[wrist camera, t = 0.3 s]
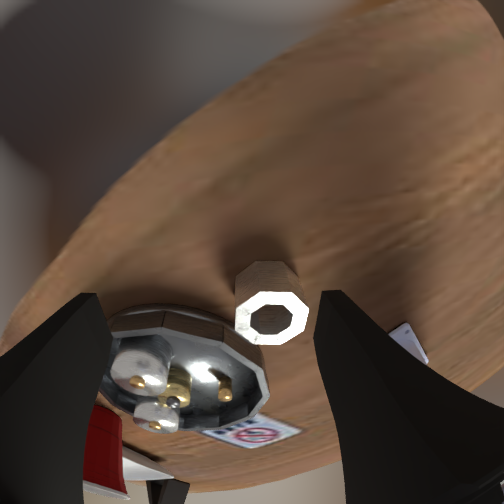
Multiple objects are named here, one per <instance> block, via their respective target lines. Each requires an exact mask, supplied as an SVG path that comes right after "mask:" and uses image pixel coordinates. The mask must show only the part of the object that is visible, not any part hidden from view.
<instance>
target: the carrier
mask: <svg viewBox="0 0 504 504" xmlns="http://www.w3.org/2000/svg"><path fill="white" fill-rule="evenodd" d="M107 324H108V326H109V329H110V331H111V334H112V336H113V341H112V346H111V351H110V356H109V360H108V364H107V367H106V370H105V373H104V376H103V379H102V382H101V385H100V388H99V392H100V393H101V394H102V395H103V396H104V397H105V398H106V399H107V400H108V401H109V402H110V403H111V404H112V405H113V406H115V407H116V408H118V409H120V410H122V411H124V412H126V413H128V414H129V415H131V416H133V421H134V422H135V423H136V424H137V425H138V426H139V427H141V428H143V429H145V430H148V431H151V432H155V433H164V434H167V433H173V432H175V431H177V430H181V431H203V430H221V429H225V428H227V427H230V426H233V425H236V424H238V423H241V422H243V421H246V420H248V419H251V418H253V417H254V416H255V415H256V414H257V412H258V411H259V410H260V409H261V407H262V406H263V405H264V404H265V402H266V401H267V400H268V398H269V397H270V392H269V383H268V378H267V374H266V370H265V363H264V358H263V355H262V352H261V350H260V349H259V347H258V345H257V344H253V343H251V342H250V341H249V340H247V339H246V338H245V337H243V336H242V335H241V334H239V333H238V332H237V331H235V324H233V323H231V322H230V321H228V320H226V319H224V318H222V317H220V316H217V315H215V314H212V313H210V312H207V311H203V310H200V309H197V308H192V307H188V306H183V305H175V304H144V305H139V306H134V307H130V308H127V309H124V310H122V311H120V312H118V313H116V314H114V315H113V316H112V317H110V318H109V319H108V320H107Z"/></svg>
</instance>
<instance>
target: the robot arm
mask: <svg viewBox="0 0 504 504" xmlns="http://www.w3.org/2000/svg"><path fill="white" fill-rule="evenodd" d="M313 339H314V345H315V351H316V356H317V362H318V366H319V370H320V373H321V377H322V380H323V383H324V387H325V390H326V393H327V396H328V400H329V403H330V406H331V410H332V413H333V416H334V420H335V423H336V428H337V432H338V437H339V444H340V450H341V456H342V464H343V472H344V482H345V494H346V504H504V484H502V485H501V484H500V482H502V481H503V480H504V408H502V407H499V406H497V405H494V404H492V403H489V402H488V401H486V400H484V399H481V398H479V397H477V396H475V395H473V394H471V393H470V392H468V391H466V390H464V389H462V388H461V387H459V386H457V385H456V384H454V383H452V382H450V381H449V380H447V379H446V378H444V377H443V376H441V375H439V374H438V373H437V372H435V371H434V370H432V369H431V368H429V367H428V366H427V363H428V361H429V360H428V358H427V356H426V355H425V353H424V351H423V349H422V347H421V345H420V343H419V341H418V340H417V338H416V336H415V334H414V332H413V330H412V329H411V327H410V325H409V324H408V323H404V324H402V325H401V326H400V327H398V328H397V329H395V330H394V331H392V332H391V333H389V334H387V333H386V332H385V331H384V330H383V329H382V328H380V327H379V326H378V325H377V324H376V323H375V322H374V321H373V320H372V319H371V318H370V317H369V316H368V315H367V314H366V313H365V312H364V311H362V310H361V309H360V308H359V307H358V306H357V305H356V304H355V303H354V302H353V301H352V300H351V299H350V298H349V297H348V296H347V295H346V294H345V293H344V292H342V291H341V290H329V291H322V294H321V299H320V305H319V311H318V316H317V321H316V327H315V332H314V337H313ZM112 341H113V336H112V334H111V331H110V329H109V326H108V324H107V321H106V319H105V316H104V314H103V311H102V308H101V306H100V303H99V300H98V297H97V294H96V293H80V294H79V295H77V296H76V297H74V298H73V299H72V300H70V301H69V302H68V303H66V304H65V305H64V306H63V307H61V308H60V309H59V310H58V311H57V312H55V313H54V314H53V315H52V316H51V317H49V318H48V319H47V320H46V321H45V322H43V323H42V324H41V325H40V326H39V327H38V328H36V329H35V330H34V331H33V332H31V333H30V334H29V335H28V336H26V337H25V338H24V339H23V340H22V341H20V342H19V343H18V344H17V345H15V346H14V347H13V348H12V349H10V350H9V351H8V352H6V353H5V354H4V355H2V356H1V357H0V504H84V500H83V463H84V451H85V443H86V436H87V429H88V424H89V420H90V416H91V413H92V410H93V406H94V403H95V400H96V397H97V394H98V391H99V388H100V385H101V382H102V379H103V376H104V373H105V370H106V367H107V364H108V360H109V356H110V351H111V346H112Z"/></svg>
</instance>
